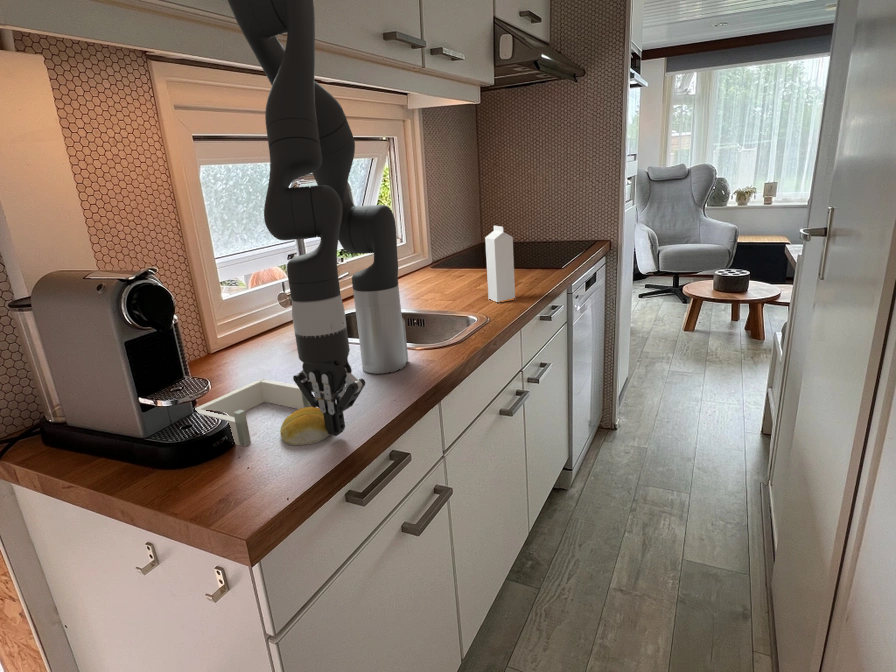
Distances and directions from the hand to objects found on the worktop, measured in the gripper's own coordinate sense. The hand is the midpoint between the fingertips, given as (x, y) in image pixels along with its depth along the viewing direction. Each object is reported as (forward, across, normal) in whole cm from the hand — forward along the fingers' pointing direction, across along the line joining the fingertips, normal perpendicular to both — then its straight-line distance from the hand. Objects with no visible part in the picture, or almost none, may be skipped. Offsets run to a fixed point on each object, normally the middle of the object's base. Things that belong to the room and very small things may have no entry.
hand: (335, 432), depth 88 cm
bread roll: (+2, +6, 0) cm, 6 cm away
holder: (+1, +18, 0) cm, 18 cm away
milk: (+1, +13, -90) cm, 91 cm away
